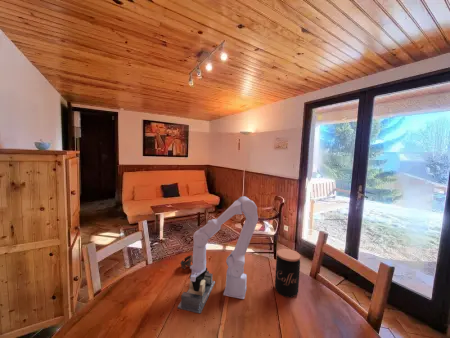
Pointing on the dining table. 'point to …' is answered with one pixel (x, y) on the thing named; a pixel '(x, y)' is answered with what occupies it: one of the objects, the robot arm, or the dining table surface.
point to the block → (201, 290)
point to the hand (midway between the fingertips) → (198, 287)
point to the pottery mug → (188, 263)
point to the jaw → (208, 278)
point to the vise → (195, 300)
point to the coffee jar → (287, 272)
